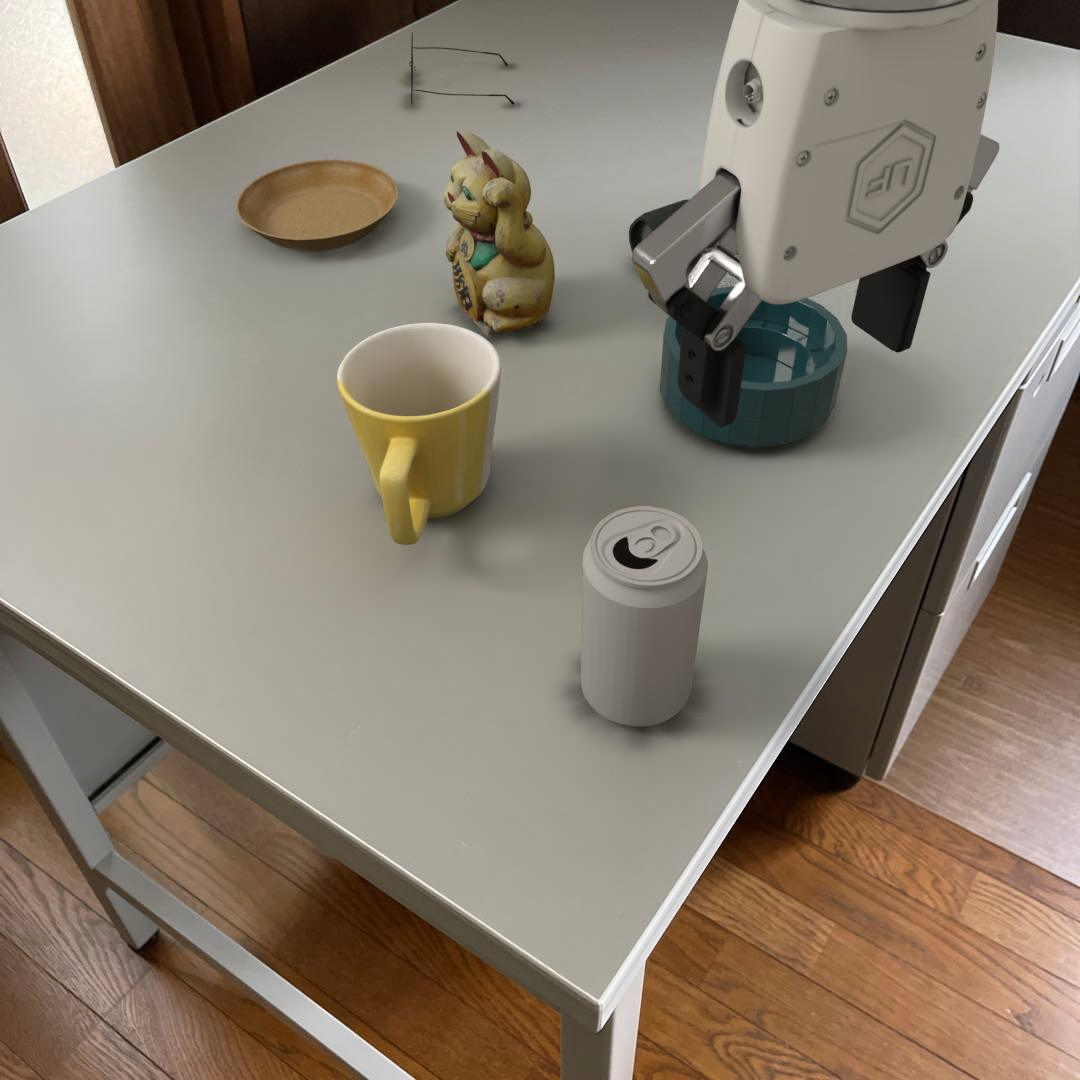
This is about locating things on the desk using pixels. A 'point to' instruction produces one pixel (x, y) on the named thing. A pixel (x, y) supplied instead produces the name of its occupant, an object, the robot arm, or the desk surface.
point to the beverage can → (641, 614)
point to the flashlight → (651, 222)
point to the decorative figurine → (496, 242)
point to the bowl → (769, 374)
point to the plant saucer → (317, 203)
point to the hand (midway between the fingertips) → (795, 370)
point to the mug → (423, 418)
